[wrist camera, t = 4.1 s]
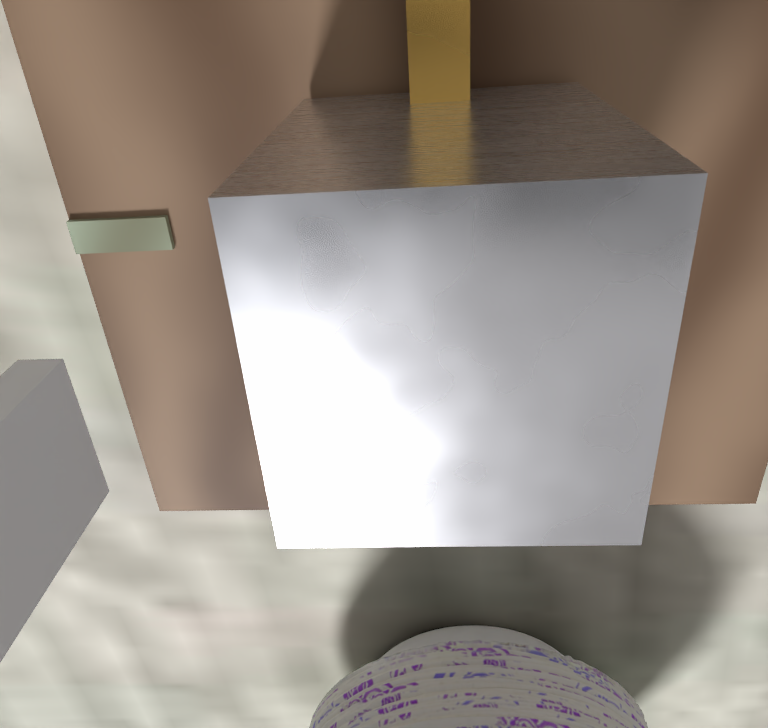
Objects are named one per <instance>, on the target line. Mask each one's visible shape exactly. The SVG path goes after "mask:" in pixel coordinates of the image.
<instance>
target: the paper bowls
mask: <svg viewBox="0 0 768 728" xmlns="http://www.w3.org/2000/svg"><path fill="white" fill-rule="evenodd" d="M309 728H648V727H647V723H646V722H645V719H644V714H643V712H642V710H641V709H640V708H639V705H638V704H637V703H636V702H635V700H634V699H633V697H632V696H631V695H630V694H629V693H628V692H627V691H626V690H625V689H624V688H623V687H622V686H621V685H620V684H619V683H618V682H617V681H615V680H613V679H611V678H610V677H608V676H607V675H606V674H604V673H602V672H601V671H599V670H597V669H596V668H594V667H591V666H589V665H587V664H586V663H584V662H582V661H580V660H574V659H573V658H572V657H571V656H564V655H562V654H561V653H560V652H558V651H557V650H556V649H554V648H553V647H551V646H550V645H548V644H546V643H544V642H543V641H541V640H539V639H537V638H534V637H532V636H529V635H527V634H524V633H521V632H518V631H514V630H510V629H505V628H500V627H492V626H479V625H469V626H454V627H446V628H441V629H436V630H432V631H429V632H425V633H422V634H419V635H417V636H414V637H412V638H409V639H407V640H405V641H403V642H401V643H400V644H398V645H396V646H395V647H393V648H392V649H391V650H389V651H388V652H387V653H385V654H384V655H383V656H382V657H381V658H380V659H378V660H375V661H373V662H370V663H367V664H366V665H364V666H362V667H361V668H359V669H357V670H355V671H354V672H352V673H350V674H349V675H347V676H346V677H344V678H343V679H342V680H340V681H339V682H338V683H337V684H336V685H335V686H334V687H333V688H332V689H331V690H330V691H329V692H328V693H327V694H326V696H325V697H324V698H323V700H322V701H321V702H320V704H319V705H318V707H317V709H316V711H315V713H314V715H313V717H312V721H311V724H310V727H309Z"/></svg>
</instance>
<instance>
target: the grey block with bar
mask: <svg viewBox="0 0 768 728" xmlns="http://www.w3.org/2000/svg"><path fill="white" fill-rule="evenodd" d="M406 17H407V41H408V65H409V88H410V92H408V93H391V94H375V95H359V96H342V97H326V98H310V99H304V100H303V101H302V102H301V103H300V104H299V105H298V106H297V107H296V108H295V109H294V110H293V111H292V112H291V113H290V114H289V115H288V116H287V117H286V118H285V119H284V120H283V121H282V122H281V123H280V124H279V125H278V127H277V128H276V129H275V130H274V131H273V132H272V133H271V134H270V135H269V136H268V137H267V138H266V139H265V140H264V141H263V142H262V143H261V144H260V145H259V146H258V147H257V148H256V149H255V150H254V151H253V152H252V153H251V154H250V155H249V156H248V157H247V158H246V159H245V160H244V161H243V162H242V163H241V164H240V166H239V167H238V168H237V169H236V170H235V171H234V172H233V173H232V174H231V175H230V176H229V177H228V178H227V179H226V180H225V181H224V182H223V183H222V184H221V185H220V186H219V187H218V188H217V189H216V190H215V191H214V192H213V193H212V194H211V195H210V196H209V197H208V202H209V207H210V212H211V217H212V222H213V227H214V232H215V237H216V242H217V247H218V252H219V257H220V262H221V267H222V272H223V277H224V282H225V287H226V292H227V297H228V302H229V307H230V312H231V317H232V322H233V327H234V332H235V337H236V342H237V347H238V352H239V357H240V362H241V367H242V372H243V377H244V382H245V387H246V392H247V397H248V402H249V407H250V412H251V417H252V422H253V427H254V432H255V437H256V442H257V447H258V452H259V457H260V462H261V467H262V472H263V477H264V482H265V487H266V492H267V497H268V502H269V507H270V512H271V517H272V522H273V527H274V532H275V537H276V542H277V547H278V548H351V547H475V546H600V545H641V544H642V539H643V533H644V527H645V522H646V516H647V511H648V505H649V500H650V494H651V488H652V483H653V477H654V472H655V466H656V460H657V455H658V449H659V444H660V438H661V432H662V427H663V421H664V416H665V410H666V405H667V399H668V393H669V388H670V382H671V377H672V371H673V365H674V360H675V354H676V349H677V343H678V337H679V332H680V326H681V321H682V315H683V310H684V304H685V298H686V293H687V287H688V282H689V276H690V270H691V265H692V259H693V254H694V248H695V242H696V237H697V231H698V226H699V220H700V215H701V209H702V203H703V198H704V192H705V187H706V181H707V175H708V173H707V172H706V171H704V170H703V169H701V168H700V167H698V166H697V165H696V164H694V163H693V162H691V161H690V160H688V159H687V158H686V157H684V156H683V155H681V154H680V153H678V152H677V151H675V150H674V149H673V148H671V147H670V146H668V145H667V144H665V143H664V142H662V141H661V140H660V139H658V138H657V137H655V136H654V135H652V134H651V133H650V132H648V131H647V130H645V129H644V128H642V127H641V126H639V125H638V124H637V123H635V122H634V121H632V120H631V119H629V118H628V117H626V116H625V115H624V114H622V113H621V112H619V111H618V110H616V109H615V108H614V107H612V106H611V105H609V104H608V103H606V102H605V101H603V100H602V99H601V98H599V97H598V96H596V95H595V94H593V93H592V92H590V91H589V90H588V89H586V88H585V87H583V86H582V85H580V84H579V83H578V82H571V83H555V84H538V85H522V86H506V87H489V88H473V89H470V0H406Z"/></svg>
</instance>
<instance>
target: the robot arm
mask: <svg viewBox="0 0 768 728" xmlns="http://www.w3.org/2000/svg"><path fill="white" fill-rule="evenodd" d="M108 492H109V489H108V486H107V483H106V480H105V477H104V475H103V472H102V469H101V466H100V463H99V460H98V458H97V455H96V452H95V449H94V446H93V443H92V440H91V438H90V435H89V432H88V429H87V426H86V423H85V420H84V418H83V415H82V412H81V409H80V406H79V403H78V400H77V398H76V395H75V392H74V389H73V386H72V383H71V380H70V378H69V375H68V372H67V369H66V366H65V363H64V360H63V359H38V360H17V361H16V362H15V363H14V364H13V365H12V366H11V367H10V368H9V369H7V370H6V371H5V372H4V373H3V374H2V375H1V376H0V662H1V661H2V659H3V657H4V656H5V654H6V653H7V651H8V650H9V648H10V646H11V645H12V643H13V642H14V640H15V639H16V637H17V635H18V634H19V632H20V631H21V629H22V628H23V626H24V624H25V623H26V621H27V620H28V618H29V617H30V615H31V613H32V612H33V610H34V609H35V607H36V606H37V604H38V602H39V601H40V599H41V598H42V596H43V595H44V593H45V591H46V590H47V588H48V587H49V585H50V584H51V582H52V580H53V579H54V577H55V576H56V574H57V573H58V571H59V569H60V568H61V566H62V565H63V563H64V561H65V560H66V558H67V557H68V555H69V554H70V552H71V550H72V549H73V547H74V546H75V544H76V543H77V541H78V539H79V538H80V536H81V535H82V533H83V532H84V530H85V528H86V527H87V525H88V524H89V522H90V521H91V519H92V517H93V516H94V514H95V513H96V511H97V510H98V508H99V506H100V505H101V503H102V502H103V500H104V499H105V497H106V495H107V494H108Z"/></svg>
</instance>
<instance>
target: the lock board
mask: <svg viewBox="0 0 768 728" xmlns="http://www.w3.org/2000/svg"><path fill="white" fill-rule="evenodd" d="M1 2H2V5H3V8H4V11H5V14H6V18H7V21H8V24H9V27H10V30H11V34H12V37H13V40H14V43H15V47H16V50H17V53H18V56H19V59H20V63H21V66H22V69H23V72H24V76H25V79H26V82H27V85H28V88H29V92H30V95H31V98H32V101H33V104H34V108H35V111H36V114H37V117H38V121H39V124H40V127H41V130H42V133H43V137H44V140H45V143H46V146H47V150H48V153H49V156H50V159H51V162H52V166H53V169H54V172H55V175H56V178H57V182H58V185H59V188H60V191H61V195H62V198H63V201H64V204H65V207H66V211H67V214H68V217H69V220H68V221H67V222H66V223H67V226H68V229H69V232H70V236H71V239H72V242H73V245H74V248H75V252H76V254H80V256H81V259H82V262H83V265H84V269H85V272H86V275H87V278H88V281H89V285H90V288H91V291H92V294H93V297H94V301H95V304H96V307H97V310H98V314H99V317H100V320H101V323H102V326H103V330H104V333H105V336H106V339H107V343H108V346H109V349H110V352H111V355H112V359H113V362H114V365H115V368H116V371H117V375H118V378H119V381H120V384H121V388H122V391H123V394H124V397H125V400H126V404H127V407H128V410H129V413H130V417H131V420H132V423H133V426H134V429H135V433H136V436H137V439H138V442H139V445H140V449H141V452H142V455H143V458H144V462H145V465H146V468H147V471H148V474H149V478H150V481H151V484H152V487H153V491H154V494H155V497H156V500H157V503H158V507H159V510H160V511H196V510H270V507H269V502H268V497H267V492H266V487H265V482H264V477H263V472H262V467H261V462H260V457H259V452H258V447H257V442H256V437H255V432H254V427H253V422H252V417H251V412H250V407H249V402H248V397H247V392H246V387H245V382H244V377H243V372H242V367H241V362H240V357H239V352H238V347H237V342H236V337H235V332H234V327H233V322H232V317H231V312H230V307H229V302H228V297H227V292H226V287H225V282H224V277H223V272H222V267H221V262H220V257H219V252H218V247H217V242H216V237H215V232H214V227H213V222H212V217H211V212H210V207H209V202H208V197H209V196H210V195H211V194H212V193H213V192H214V191H215V190H216V189H217V188H218V187H219V186H220V185H221V184H222V183H223V182H224V181H225V180H226V179H227V178H228V177H229V176H230V175H231V174H232V173H233V172H234V171H235V170H236V169H237V168H238V167H239V166H240V164H241V163H242V162H243V161H244V160H245V159H246V158H247V157H248V156H249V155H250V154H251V153H252V152H253V151H254V150H255V149H256V148H257V147H258V146H259V145H260V144H261V143H262V142H263V141H264V140H265V139H266V138H267V137H268V136H269V135H270V134H271V133H272V132H273V131H274V130H275V129H276V128H277V127H278V125H279V124H280V123H281V122H282V121H283V120H284V119H285V118H286V117H287V116H288V115H289V114H290V113H291V112H292V111H293V110H294V109H295V108H296V107H297V106H298V105H299V104H300V103H301V102H302V101H303V100H304V99H310V98H326V97H342V96H359V95H375V94H391V93H408V92H410V88H409V65H408V41H407V17H406V0H1ZM571 82H578V83H579V84H580V85H582V86H583V87H585V88H586V89H588V90H589V91H590V92H592V93H593V94H595V95H596V96H598V97H599V98H601V99H602V100H603V101H605V102H606V103H608V104H609V105H611V106H612V107H614V108H615V109H616V110H618V111H619V112H621V113H622V114H624V115H625V116H626V117H628V118H629V119H631V120H632V121H634V122H635V123H637V124H638V125H639V126H641V127H642V128H644V129H645V130H647V131H648V132H650V133H651V134H652V135H654V136H655V137H657V138H658V139H660V140H661V141H662V142H664V143H665V144H667V145H668V146H670V147H671V148H673V149H674V150H675V151H677V152H678V153H680V154H681V155H683V156H684V157H686V158H687V159H688V160H690V161H691V162H693V163H694V164H696V165H697V166H698V167H700V168H701V169H703V170H704V171H706V172H707V173H708V175H707V181H706V187H705V192H704V198H703V203H702V209H701V215H700V220H699V226H698V231H697V237H696V242H695V248H694V254H693V259H692V265H691V270H690V276H689V282H688V287H687V293H686V298H685V304H684V310H683V315H682V321H681V326H680V332H679V337H678V343H677V349H676V354H675V360H674V365H673V371H672V377H671V382H670V388H669V393H668V399H667V405H666V410H665V416H664V421H663V427H662V432H661V438H660V444H659V449H658V455H657V460H656V466H655V472H654V477H653V483H652V488H651V494H650V500H649V505H671V504H750V503H756V501H757V497H758V494H759V490H760V487H761V483H762V480H763V476H764V473H765V469H766V466H767V462H768V0H470V89H473V88H489V87H506V86H522V85H538V84H555V83H571Z"/></svg>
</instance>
